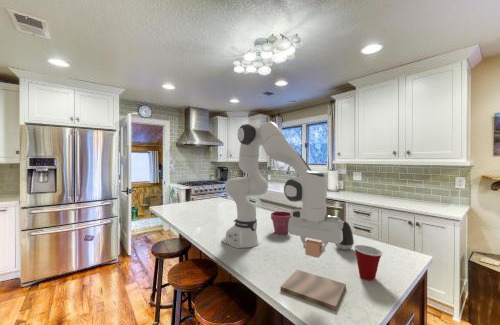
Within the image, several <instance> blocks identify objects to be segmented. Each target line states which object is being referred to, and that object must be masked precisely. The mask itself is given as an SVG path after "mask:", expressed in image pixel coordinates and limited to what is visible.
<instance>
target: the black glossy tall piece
mask: <svg viewBox="0 0 500 325" xmlns="http://www.w3.org/2000/svg"><path fill="white" fill-rule="evenodd" d="M342 221H343V229H342V233H343V240H342V242H341V243H339V244H336V243H334V244H335V246H336V247H337V248H338V249H340V250H343V251H349V250H350V249H352V248H353V247H354V244H355V240H354V234H353V231H352V227H351V225H350V223H348V222H347V221H346V220H342Z"/></svg>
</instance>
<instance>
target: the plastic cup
mask: <svg viewBox="0 0 500 325" xmlns="http://www.w3.org/2000/svg"><path fill="white" fill-rule="evenodd" d="M353 248H354V251H355V255H356V262H357V267H358V268H357V269H358V275H359V277H360V278H361V279H363V280H366V281H374V280H375V279H376V276H377V271H378V267H379V263H380V260H381V257H382V256H383V253H384V252H383V251H382V250H380V249H378V248H376V247H373V246H369V245H363V244H356V245H353Z"/></svg>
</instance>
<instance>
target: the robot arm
mask: <svg viewBox="0 0 500 325" xmlns="http://www.w3.org/2000/svg"><path fill="white" fill-rule="evenodd" d="M237 139H238V141H239V143H240V146H239V154H238V155H239V156H238V168H239V169H240V170H241V171H243V172H244V173H247V176H243V177H241V176H239V177H238V176H237V177H236V176H235V177H232V178H228V179H227V180H226V182H225V185H224V190H225V192H226V194H227V195H228V196H229V197H231V199H232V200H233V201H234V203H235V205H236V206H235V207H236V214H237V217H236V219H234V220H233V223H234V225H232V226H231V227H230V228H228V229H227V230H226V233H225V236H224V237H223V238H221V242H222V243H224V244H226V243H227V244H226V245H228V244H229V245H228V246H230V247H233V248H235V249H243V248H253V247H256V246H258V245H259V243H260V242H259V239H258V234H257V225H258V223H257V222H258V221H257V206H256V205H255V203H253V202H251V201H249V200H248V199H247V197H252V196H253V197H254V196H261V195H265V194H266V193H268V192H267V191H268V189H269V182H268V181H267V179H266V178H265V177H264V176H262V174H261V173H260V169H259V155H260V146H262V147H263V150H264V152H265V153H266V155H267V156H268V157H269V159H271V160H273V161H277V162H280V163H283V164H285V165H288V166H290V167H291V168H292V169H293V170H294V171H295V172H296V174H297V177H293V178H290V179H288V180H287V181H286V182H285V184H284V186H283V193H284V195H285V197H286V199H287V200H288V201H290V202H294V203H296V202H297V203H298V202H301V203H302V206H301V207H299V208H295V209H293V210H291V211H290V212H289V213H290V216H291V218H290V219H289V223H288V234H289V235H293V236H298V237H300V240H301V242H302V244H303V246H302V247H303V249H305V241H307V239H309V238H312V239H317V240H321V241H323V246H321V247H320V252H323V253H325V252H326V247H327V246H328V244H329V243H331V244H332V243H333V244H335V243H336V244H339V243H341V242H342V240H343V233H342V229H343V221H344V220H342V218H340V217H339V216H332V215H327V212H328V211H327V207H328V206H327V201H326V199H327V196H328V195H327V191H328V190H327V189H328V187H327V186H328V185H327V179H326V176H325V173H323V172H321V171H318V170H317V171H316V170H312V169H311V168H310V166H309V165H308V164H307V162H306V161H305V160H304V158H303V157H302V156H301V154H300V153H299V152H298V151H297V150H296V149H295V148H294V147H293V146H292V145H291V143H289V141H288V140H287V138H286V137H285V135H284V133H283V132H282V131H281V129H280V128H279V126H278V125H277V124H276V123H275V122H273V121H266V122H264V123H251V124H249V123H245V124H241V125H240V126H239V128H238V130H237ZM306 238H307V239H306ZM336 244H335V245H336ZM323 253H322V254H323Z"/></svg>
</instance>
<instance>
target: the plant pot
mask: <svg viewBox="0 0 500 325" xmlns="http://www.w3.org/2000/svg"><path fill="white" fill-rule="evenodd" d="M290 218H291V216H290V212H289V211H281V210H280V211H274V212H271V213H270V219H271V220H272V224H273V225H272V226H273V229H274V233H275V234H277V233H278V234H277V235H287V234H289V232H288V223H289V219H290Z"/></svg>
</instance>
